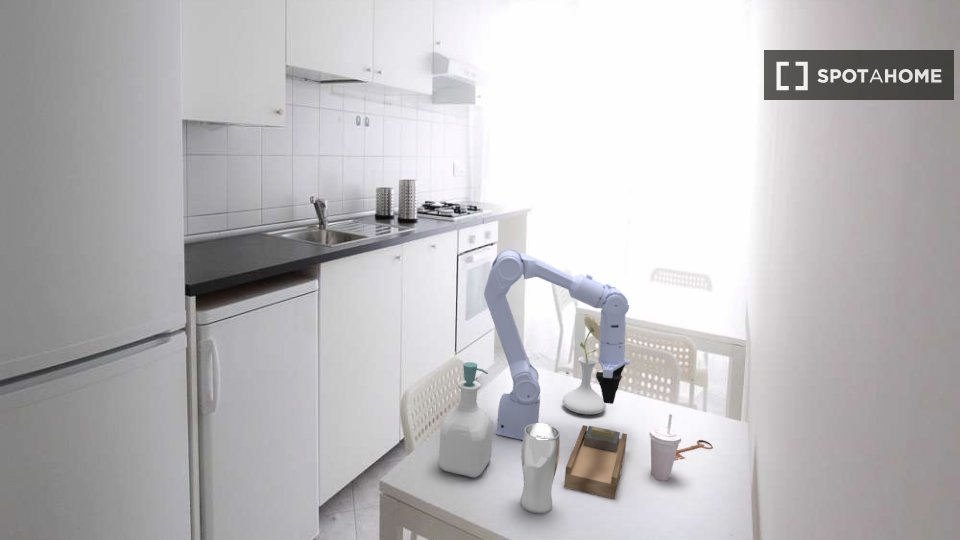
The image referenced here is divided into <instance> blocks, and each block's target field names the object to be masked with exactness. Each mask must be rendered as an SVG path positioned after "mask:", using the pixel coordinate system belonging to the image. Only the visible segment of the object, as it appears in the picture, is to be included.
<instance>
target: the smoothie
mask: <svg viewBox="0 0 960 540" xmlns="http://www.w3.org/2000/svg"><path fill="white" fill-rule="evenodd" d="M672 419H673V414H672V413H669V414H668V422H667V426H666V427H665V426H654V427H652V428H650V430H649V433H648V435H649V438H650V474H651V476H652V477H653V478H654V479H656V480H657V481H658V480H659V481H668V480H670V477H671V474H672V470H673V466H674V463H675V461H674V459H676V458H675V456H676V455H677V454H676V452H677V450H678V448H679V444H680V443H681V442H682V434H681V433H680V432H678V431H677V430H676V429H673V428H671V425H672Z"/></svg>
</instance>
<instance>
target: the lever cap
mask: <svg viewBox="0 0 960 540" xmlns="http://www.w3.org/2000/svg"><path fill="white" fill-rule="evenodd" d="M620 435H621V432H620V431H616V430H612V429H607V428H603V427H602V428H601V427H596V426H592V425H588V426H587V432H586V435H585V438H584V446H588V447H593V448H598V449H602V450H607V451H612V452H616V451H617V447H618V443H619V439H620Z"/></svg>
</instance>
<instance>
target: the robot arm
mask: <svg viewBox="0 0 960 540" xmlns="http://www.w3.org/2000/svg"><path fill="white" fill-rule="evenodd" d="M522 276H523V280H528V279H532V278H539V279H541V280H544V281H546V282H549V283H551V284H554V285H556V286H558V287H560V288H563V289H565V290H568V292H569V296H570V298H572V299H574V300H577V301H579V302H581V303H583V304H585V305H587V306H590V307H592V308H594V309H600V321H599V325H600V341H599V347H598V348H599V352H598V354H599V357H598V358H597V361H598V362H597V363H598V364H599V365H600V367H601V369H602V371H596V373H595V378H596V380H597V382H598V384H599V386H600V392H601V396H602V399H603V401H604V403H605V404H611V405H613V404H614V402H615V399H616V393H617V391H618V389H619V386H620V381H621V380H622V378H623V375H622V372H623V371H624V369H625V367H626V365H627V366H628V365H630V362H631V360H630V359H629V358H626V357H625V356H626V355H625V354H626V353H625V350H626V314H627V313H628V311H629V309H630V304H629V302H628V299H627V297H626V296H625V295H624V294H623V293H622V291H620V290H619V289H618V288H616V286H612V285H611V284H609V283H606V284H604V283H602V282H600V281H598V280H595V279H593V276H592V275H591V274H589V273H586V275H584V274H578V275H575V276H573V275H571V274H569V273H566V272H565V271H563V270H560V269H558V268H556V267H555V266H552V265H550V264H549V263H546V262H545V261H543V260H541V259H538V258H536V257H534V256H531V255H529V254H527V253H523V252H520V253H519V252H518V251H517V250H515V249H512V248H508V249H507V248H506V249H504V250H501V251H500V252H499V253H498V254H497V255H496V257H495V259H494V261H492V263H491V267H490V271H489V274H488V277H487V280H486V284H485V288H484V291H483V292H484V293H483V295H484V300H485V301H486V305H487V308H488V310H489V313H490V315H491V319H492V322H493V324H494V327H495V329H496V333H497V336H498V339H499V341H500V343H501V347H502V349H503V352H504V355H505V358H506V361H507V364H508V366H509V372H510V376H511V379H512V389H511V391H510V392H509V393H503V394H502V395H500V396H501V397H500V400H499V404H498V410H497V422H496V423H497V426H496V432H495V434H496V435H498V436H502V437H507V438H511V439H515V440H516V439H517V440H520V441H523V436H524V429H525V427H526V426H528V425H530V424H534V423H539V417H540V404H541V386H540V383H539V379H540V378H539V373H538V370H537V369H536V367H534V366H533V365H532V363H531V362H530V359H529V357H528V355H527V353H526V350H525V347H524V343H523V342H522V339H521V335H520V332H519V330H518V327H517V325H516V321H515V318H514V316H513V313H512V310H511V307H510V304H509V301H508V298H507V294H508V292H509V291H510V289H511V287H512V286H513V285H514V284H516V283H517V282H518V281H519V280H520V279H521V278H522Z"/></svg>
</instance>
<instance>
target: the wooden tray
mask: <svg viewBox="0 0 960 540" xmlns="http://www.w3.org/2000/svg"><path fill="white" fill-rule="evenodd" d="M587 430H588V425H584V424H583V425H582V426H581V429H580V432H579V434H578V435H577V438H576V442H575V444H574V446H573V449H572V451H571V453H570V456H569V458H568V460H567V462H566V463H567V464H566V465H565V474H564V486H563V487H564V488H565V489H566V488H567V489H571V490H575V491H580V492H583V493H589V494H592V495H596V496H601V497H604V498H609V499H613V500H615V499H616V495H617V490H618V485H619V481H620V476H621V472H622V467H623V463H624V459H625V453H626V446H627V438H628V434H627V433H624V432H622V433H621V438H619V443H618V447H617V451H616V452H612V451H607V450H602V449H598V448H593V447H588V446H584V438H585V435H586V432H587Z"/></svg>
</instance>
